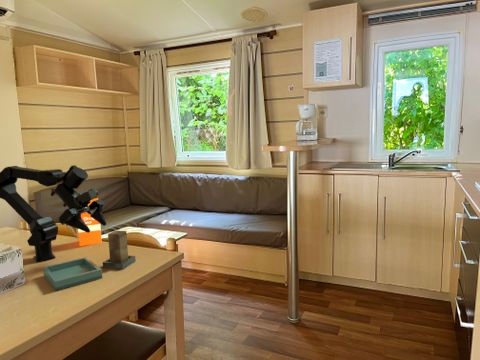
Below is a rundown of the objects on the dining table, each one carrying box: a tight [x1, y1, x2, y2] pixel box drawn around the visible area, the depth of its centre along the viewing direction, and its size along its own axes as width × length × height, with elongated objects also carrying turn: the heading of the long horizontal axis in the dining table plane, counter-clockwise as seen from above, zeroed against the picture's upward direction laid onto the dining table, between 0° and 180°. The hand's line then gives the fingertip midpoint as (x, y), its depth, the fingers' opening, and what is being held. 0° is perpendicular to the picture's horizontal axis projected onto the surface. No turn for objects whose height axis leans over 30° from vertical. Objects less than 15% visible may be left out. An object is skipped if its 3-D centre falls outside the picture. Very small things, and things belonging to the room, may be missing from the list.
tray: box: [42, 256, 103, 292], centre depth 117 cm, size 16×14×3 cm
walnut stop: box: [107, 229, 129, 263], centre depth 127 cm, size 4×4×12 cm
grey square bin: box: [102, 254, 136, 270], centre depth 127 cm, size 8×8×2 cm
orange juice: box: [77, 197, 103, 247], centre depth 153 cm, size 8×9×20 cm
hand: (97, 228), depth 128 cm, fingers open, 9 cm apart
